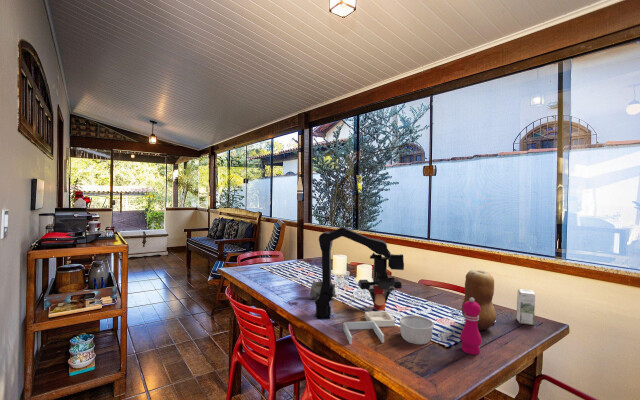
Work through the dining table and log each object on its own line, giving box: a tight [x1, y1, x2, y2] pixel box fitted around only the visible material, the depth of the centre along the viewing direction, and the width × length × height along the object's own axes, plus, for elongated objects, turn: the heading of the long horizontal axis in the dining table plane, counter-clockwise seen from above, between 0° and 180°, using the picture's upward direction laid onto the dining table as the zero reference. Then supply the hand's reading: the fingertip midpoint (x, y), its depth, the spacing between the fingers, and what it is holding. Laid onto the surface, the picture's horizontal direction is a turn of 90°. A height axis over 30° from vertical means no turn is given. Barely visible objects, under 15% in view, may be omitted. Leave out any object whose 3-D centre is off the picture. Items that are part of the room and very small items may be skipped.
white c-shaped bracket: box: [342, 320, 385, 345], centre depth 130 cm, size 14×14×3 cm
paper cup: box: [372, 280, 387, 311], centre depth 160 cm, size 8×8×14 cm
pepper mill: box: [459, 297, 483, 355], centre depth 118 cm, size 7×7×20 cm
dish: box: [364, 310, 396, 328], centre depth 144 cm, size 11×11×3 cm
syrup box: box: [516, 288, 536, 326], centre depth 145 cm, size 6×6×14 cm
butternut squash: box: [461, 269, 497, 331], centre depth 138 cm, size 14×13×25 cm
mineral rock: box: [309, 280, 337, 300], centre depth 173 cm, size 13×11×10 cm
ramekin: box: [398, 314, 435, 345], centre depth 128 cm, size 13×13×7 cm
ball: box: [375, 294, 385, 305], centre depth 144 cm, size 5×5×5 cm
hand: (379, 302), depth 144 cm, fingers closed on ball, 5 cm apart
